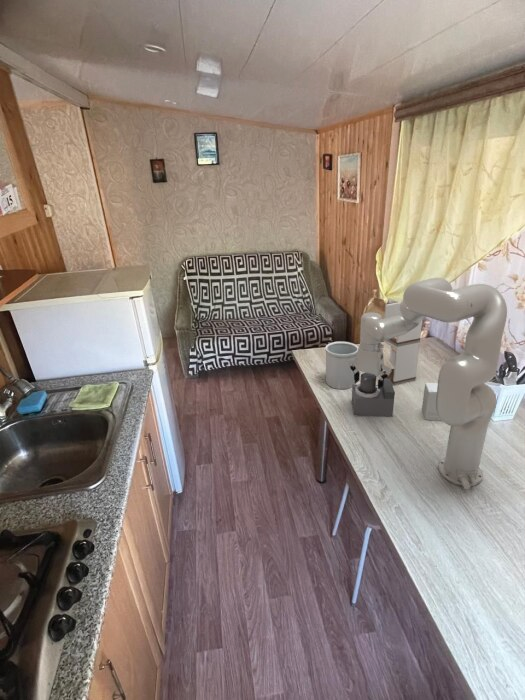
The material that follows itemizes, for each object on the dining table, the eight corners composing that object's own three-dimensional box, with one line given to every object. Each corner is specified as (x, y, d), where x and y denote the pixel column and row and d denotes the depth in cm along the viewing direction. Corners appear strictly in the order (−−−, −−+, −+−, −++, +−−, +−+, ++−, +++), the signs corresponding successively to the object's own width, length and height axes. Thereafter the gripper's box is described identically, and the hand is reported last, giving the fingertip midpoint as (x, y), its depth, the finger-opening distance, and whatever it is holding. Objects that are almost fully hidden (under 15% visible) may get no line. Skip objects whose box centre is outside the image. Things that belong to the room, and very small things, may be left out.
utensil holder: (337, 371, 190) (337, 338, 183) (363, 380, 180) (365, 346, 173) (318, 382, 181) (318, 348, 173) (345, 393, 171) (346, 357, 163)
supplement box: (445, 421, 148) (449, 392, 143) (424, 420, 150) (428, 391, 144) (441, 410, 154) (445, 382, 149) (421, 409, 156) (424, 382, 151)
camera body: (392, 416, 153) (394, 392, 148) (353, 415, 155) (354, 391, 150) (388, 401, 163) (390, 378, 158) (351, 400, 165) (352, 378, 160)
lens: (377, 390, 156) (378, 374, 153) (371, 397, 152) (372, 381, 149) (363, 386, 160) (364, 371, 157) (357, 392, 155) (358, 377, 152)
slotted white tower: (401, 370, 186) (407, 300, 172) (415, 380, 177) (423, 307, 162) (380, 375, 183) (385, 304, 169) (393, 385, 174) (400, 311, 160)
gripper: (396, 345, 145) (393, 385, 152) (353, 337, 155) (352, 375, 162) (388, 353, 140) (385, 394, 147) (344, 344, 150) (344, 383, 157)
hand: (368, 384), depth 154 cm, fingers open, 9 cm apart
